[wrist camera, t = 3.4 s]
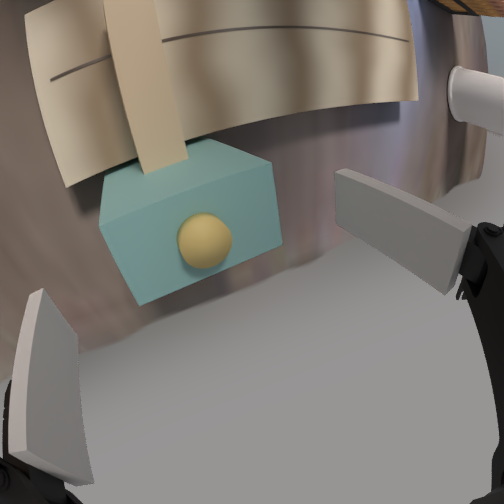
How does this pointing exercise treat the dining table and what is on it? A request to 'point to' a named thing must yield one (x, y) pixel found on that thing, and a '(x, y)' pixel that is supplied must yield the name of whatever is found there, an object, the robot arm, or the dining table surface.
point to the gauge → (175, 177)
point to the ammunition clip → (472, 7)
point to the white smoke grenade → (477, 99)
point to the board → (216, 67)
